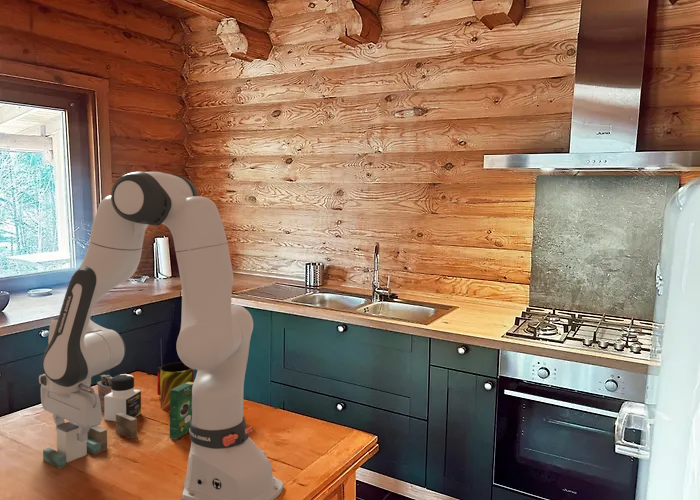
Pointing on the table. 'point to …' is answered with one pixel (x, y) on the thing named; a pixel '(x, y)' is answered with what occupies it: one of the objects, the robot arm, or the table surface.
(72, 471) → the table surface
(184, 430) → the coffee box
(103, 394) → the lighter
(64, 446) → the grey rectangular block
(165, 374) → the mug
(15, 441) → the table surface
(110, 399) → the medicine bottle
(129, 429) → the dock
